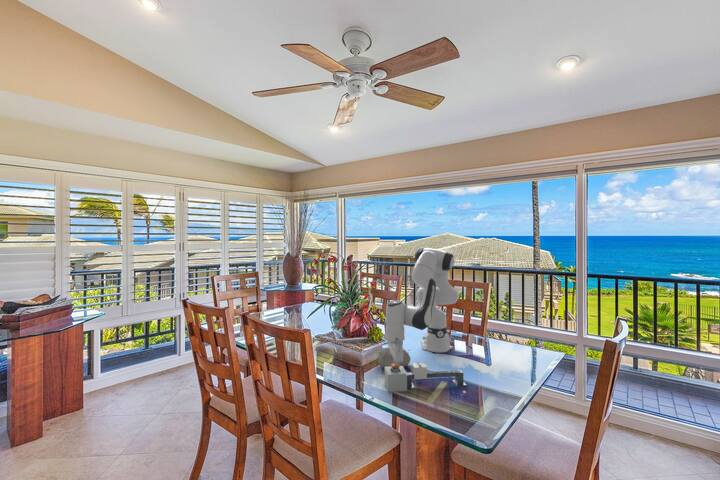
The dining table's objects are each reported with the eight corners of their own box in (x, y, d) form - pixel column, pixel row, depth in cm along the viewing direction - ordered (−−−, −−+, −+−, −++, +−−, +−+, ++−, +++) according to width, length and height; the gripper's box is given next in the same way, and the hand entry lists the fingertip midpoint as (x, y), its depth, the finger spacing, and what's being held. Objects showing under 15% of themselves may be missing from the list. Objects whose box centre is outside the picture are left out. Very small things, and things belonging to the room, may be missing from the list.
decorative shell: (382, 359, 188) (382, 341, 188) (413, 362, 182) (413, 345, 182) (373, 371, 171) (373, 352, 171) (406, 375, 165) (406, 356, 165)
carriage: (411, 374, 157) (411, 362, 156) (424, 374, 157) (424, 361, 157) (414, 379, 152) (414, 366, 151) (427, 378, 152) (426, 365, 152)
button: (390, 377, 155) (390, 362, 155) (398, 376, 156) (398, 362, 156) (391, 380, 151) (391, 366, 151) (400, 380, 151) (400, 366, 151)
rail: (401, 383, 157) (401, 371, 157) (461, 380, 159) (461, 368, 159) (404, 389, 151) (404, 376, 151) (466, 386, 153) (466, 373, 153)
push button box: (384, 383, 158) (384, 366, 157) (402, 382, 158) (402, 365, 158) (387, 392, 149) (387, 374, 148) (407, 391, 149) (406, 373, 149)
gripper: (406, 342, 143) (406, 373, 143) (397, 329, 163) (397, 356, 163) (392, 343, 142) (392, 374, 143) (385, 329, 163) (385, 356, 163)
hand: (395, 364), depth 153 cm, fingers closed, pressing on button
